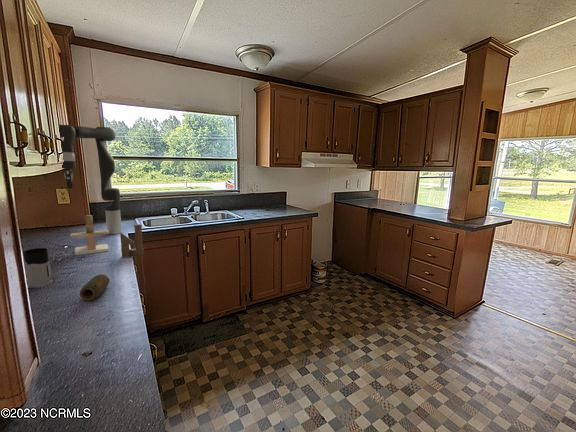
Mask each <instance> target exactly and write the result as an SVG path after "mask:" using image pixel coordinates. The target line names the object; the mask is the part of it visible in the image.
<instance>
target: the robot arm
mask: <svg viewBox="0 0 576 432" xmlns="http://www.w3.org/2000/svg"><path fill="white" fill-rule="evenodd" d="M58 125H59V132H60V137H59V138H63V139H62V141H60V142H61V146H62V150H63V160H64V162H63V165H62V168H61V169H63V170H64V169H65V170H64V172H63V174H64V179H65V182H66V188H67V189H68V190H69V189H73V179H74V172H73V169H76V168H77V165H76V155H75V149H74V148H75V147H74V144H75V139H94V140H95V144H96V148H97V156H98V166H99V167H98V168H99V175H100V195H101V199H102V200H103V201H104V202H113V203H111V204H108V205H106V206H105V207H104V210H105V223H106V230H108V231H109V234H108V235H117V234H120V232H121V233H123V231H122V217H121V216H122V215H121V214H122V213H121V191H120V190H119V188H118V187H108V185H109V182H110V179H111V178H112V176H113V175H114V173H115V170H116V164H115V159H114V158H113V156H112V154H111V153H110V151H109V150H108V148H107V143H106V142H112V141H114V140H115V139H116V136H117V135H116V131H115V130H114V129H113V128H111V127H109V126H108V127H107V126H97V127H86V126H79V125H73V126H72V125H70V124H58Z"/></svg>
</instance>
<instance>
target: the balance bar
mask: <svg viewBox="0 0 576 432" xmlns="http://www.w3.org/2000/svg"><path fill="white" fill-rule="evenodd" d="M84 220H85V221H84V222H85V230H86V231H81V232H71V233H70V239H72V238H85V237H86V236H95V237H96V236H103V235H104V236H106V235H110V234H109V231H108V230H107V229H105V230H95V231H94V222H93V221H94V218H93V215H92V214H91V215H85V216H84Z"/></svg>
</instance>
